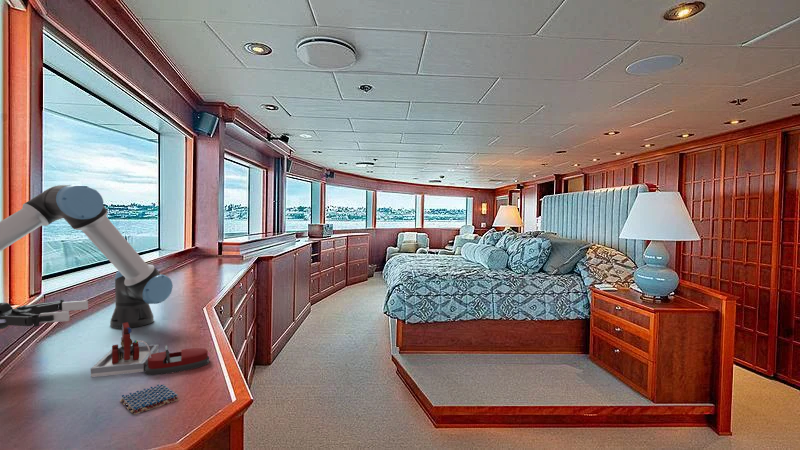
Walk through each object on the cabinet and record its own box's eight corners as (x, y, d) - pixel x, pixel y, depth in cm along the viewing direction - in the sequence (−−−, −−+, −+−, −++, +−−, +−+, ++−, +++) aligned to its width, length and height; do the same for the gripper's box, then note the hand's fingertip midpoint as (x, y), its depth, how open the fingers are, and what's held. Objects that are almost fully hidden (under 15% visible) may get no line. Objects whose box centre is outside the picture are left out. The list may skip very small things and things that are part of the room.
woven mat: (133, 418, 92) (133, 409, 92) (118, 403, 99) (118, 395, 99) (180, 401, 100) (180, 394, 100) (164, 389, 107) (164, 382, 107)
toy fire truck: (112, 367, 117) (111, 332, 117) (111, 355, 127) (111, 323, 127) (140, 362, 121) (140, 328, 121) (137, 351, 131) (137, 319, 131)
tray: (113, 355, 130) (113, 348, 130) (158, 351, 134) (158, 344, 134) (90, 377, 113) (90, 368, 113) (143, 371, 117) (143, 363, 117)
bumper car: (210, 367, 122) (211, 334, 122) (132, 380, 112) (132, 345, 111) (207, 357, 130) (207, 326, 130) (134, 368, 120) (134, 335, 120)
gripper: (14, 317, 126) (94, 311, 133) (-41, 343, 102) (60, 334, 110) (13, 294, 126) (93, 289, 133) (-43, 315, 102) (59, 308, 109)
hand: (78, 310), depth 121 cm, fingers open, 13 cm apart
